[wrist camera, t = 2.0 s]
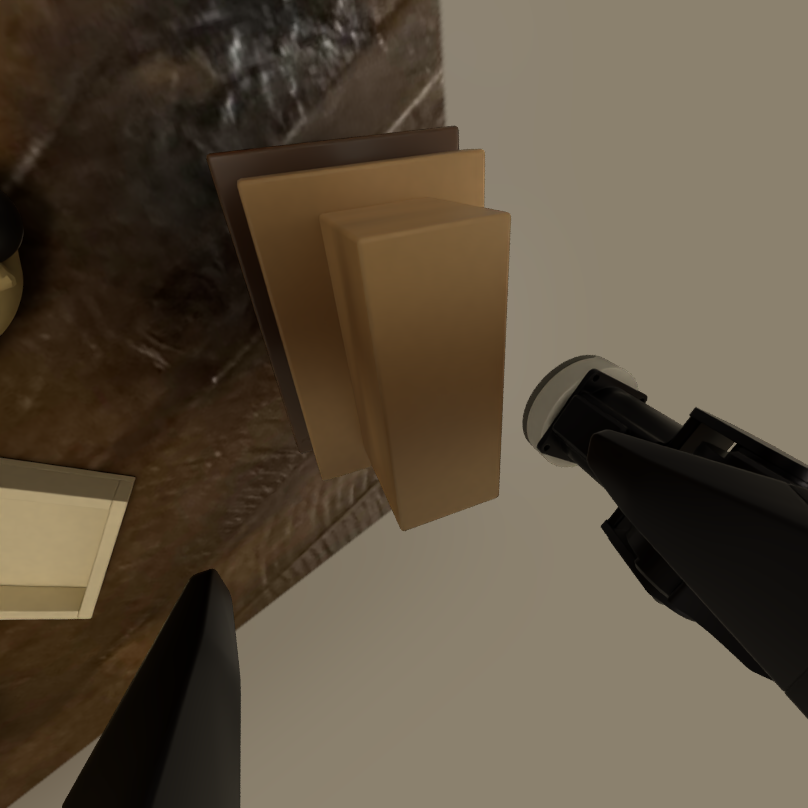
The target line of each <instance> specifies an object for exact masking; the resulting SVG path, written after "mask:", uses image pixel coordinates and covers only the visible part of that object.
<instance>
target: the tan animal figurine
mask: <svg viewBox="0 0 808 808" xmlns="http://www.w3.org/2000/svg"><path fill="white" fill-rule="evenodd" d="M22 239H23V222H22V218H21V216H20V213H19V211H18V209H17V208H16V206H15V204H14V203H13V202H12V200H11V199H10V198H9V197H8V196H7V195H6V194H5V193H4V192H3V191H2V190H0V336H1V335H2V333H3V332H4V331H5V330H6V329H7V327H8V326H9V325H10V323H11V321H12V320H13V318H14V316H15V314H16V312H17V309H18V307H19V304H20V300H21V296H22V291H23V273H22V268H21V263H20V258H19V253H18V248H19V247H20V245H21V242H22Z"/></svg>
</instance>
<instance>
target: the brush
mask: <svg viewBox="0 0 808 808" xmlns="http://www.w3.org/2000/svg"><path fill="white" fill-rule="evenodd" d="M484 177H485V152H484V150H482V149H466V150H456V151H448V152H441V153H433V154H425V155H418V156H410V157H402V158H395V159H387V160H379V161H371V162H364V163H356V164H348V165H341V166H333V167H325V168H318V169H310V170H302V171H294V172H287V173H279V174H271V175H264V176H256V177H248V178H241V179H239V180H237V188H238V191H239V195H240V198H241V201H242V205H243V208H244V212H245V215H246V219H247V222H248V226H249V229H250V233H251V236H252V239H253V243H254V246H255V250H256V253H257V257H258V260H259V264H260V267H261V271H262V274H263V277H264V281H265V284H266V288H267V291H268V295H269V298H270V302H271V305H272V309H273V312H274V316H275V319H276V322H277V326H278V329H279V333H280V336H281V340H282V343H283V347H284V350H285V354H286V357H287V360H288V364H289V367H290V371H291V374H292V378H293V381H294V385H295V388H296V392H297V395H298V398H299V402H300V405H301V409H302V412H303V416H304V419H305V423H306V426H307V430H308V433H309V436H310V440H311V443H312V447H313V450H314V454H315V457H316V461H317V464H318V468H319V471H320V474H321V478H322V479H323V480H324V481H327V480H330V479H333V478H336V477H339V476H342V475H346V474H349V473H352V472H355V471H358V470H361V469H365V468H368V467H371V466H372V467H373V469H374V471H375V473H376V475H377V478H378V480H379V482H380V484H381V487H382V489H383V491H384V493H385V495H386V498H387V500H388V502H389V504H390V507H391V509H392V511H393V513H394V515H395V518H396V520H397V522H398V524H399V527H400V529H401V530H402V531H406V530H409V529H412V528H414V527H417V526H420V525H423V524H426V523H428V522H431V521H434V520H437V519H439V518H442V517H445V516H448V515H450V514H453V513H456V512H459V511H461V510H464V509H467V508H470V507H472V506H475V505H478V504H480V503H483V502H486V501H489V500H492V499H494V498H497V497H498V496H499V479H500V457H501V456H500V455H501V433H502V411H503V388H504V365H505V342H506V318H507V296H508V272H509V251H510V226H511V216H510V214H509V213H508V212H504V211H499V210H493V209H489V208H484V187H485V178H484Z"/></svg>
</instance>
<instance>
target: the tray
mask: <svg viewBox="0 0 808 808" xmlns="http://www.w3.org/2000/svg"><path fill="white" fill-rule="evenodd" d="M134 481H135V477H131V476H124V475H117V474H110V473H103V472H97V471H90V470H83V469H76V468H69V467H62V466H55V465H48V464H41V463H34V462H27V461H20V460H13V459H6V458H0V620H3V619H76V618H77V617H78V619H90V618H91V617H92V614H93V611H94V608H95V605H96V601H97V598H98V595H99V592H100V589H101V586H102V582H103V579H104V576H105V573H106V570H107V567H108V563H109V560H110V557H111V554H112V551H113V548H114V545H115V541H116V538H117V535H118V532H119V529H120V526H121V522H122V519H123V516H124V513H125V510H126V507H127V503H128V500H129V497H130V494H131V491H132V487H133V484H134Z"/></svg>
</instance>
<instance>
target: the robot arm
mask: <svg viewBox="0 0 808 808" xmlns="http://www.w3.org/2000/svg"><path fill="white" fill-rule="evenodd" d="M646 401H647V396H646V395H645V394H643V393H642V392H640V391H638V390H636V389H634V388H632V387H630V386H628V385H626V384H624V383H622V382H621V381H619V380H617V379H615V378H613V377H611V376H609V375H607V374H605V373H603V372H601V371H600V370H598V369H595V368H594V369H591V370H589V371H588V372H587V374H586V375H585V377H584V378H583V379H582V381H581V382H580V384H579V385H578V387H577V388H576V389H575V391H574V392H573V394H572V395H571V397H570V398H569V399H568V401H567V402H566V404H565V405H564V407H563V408H562V409H561V411H560V412H559V414H558V415H557V417H556V418H555V419H554V421H553V422H552V424H551V425H550V427H549V428H548V429H547V431H546V432H545V434H544V435H543V437H542V438H541V439H540V441H539V442H538V444H537V449H538V450H539V451H540V452H541V453H542V454H546V455H549V456H552V457H555V458H559V459H562V460H565V461H569V462H572V463H575V464H578V465H579V466H580V467H581V468H582V469H583V470H584V471H585V472H587V473H588V474H589V475H590V476H591V477H592V478H593V479H594V480H596V481H597V482H598V483H599V484H600V485H601V486H603V487H604V488H605V489H606V491H607V492H608V493H609V495H610V496H611V497H612V499H613V500H614V502H615V503H616V504H617V506H618V508H617V509H616V510H615V512H614V513H613V514H612V515H611V517H610V518H609V519H608V520H606V521H605V522H604V523H603V524H602V525H601V528H602V529H603V531H604V532H605V534H606V535H607V536H608V539H609V540H610V542H611V543H612V544H613V546H614V547H615V549H616V550H617V551H618V553H619V554H620V555H621V557H622V558H623V559H624V561H625V562H626V564H627V565H628V566H629V568H630V569H631V571H632V572H633V573H634V575H635V576H636V577H637V579H638V580H639V581H640V583H641V584H642V585H643V587H644V588H645V590H646V591H647V592H648V593H649V594H650V595H651V596H652V597H653V598H654V599H655V600H656V601H657V602H658V603H660V604H663V605H666V606H667V607H668V608H669V609H671V610H673V611H674V612H676V613H677V614H679V615H680V616H682V617H684V618H686V619H689V620H691V621H695V622H697V623H698V624H699V625H700V626H702V627H703V628H704V629H705V630H707V631H708V632H709V633H710V634H711V635H713V636H714V637H715V638H716V639H717V640H718V641H719V642H720V643H722V644H723V645H724V646H725V647H726V648H727V649H728V650H729V651H730V652H731V653H732V654H733V655H734V656H736V658H738V659H739V660H740V661H741V662H742V663H743V664H744V665H745V666H746V667H747V668H748V669H750V670H751V671H753V672H755V673H757V674H759V675H761V676H764V677H766V678H768V679H770V680H773V681H775V683H776V684H777V685H778V686H779V687H780V688H781V689H782V690H783V691H785V694H786V695H787V696H788V698H789V699H790V700H791V701H792V702H793V703H794V704H795V705H796V706H797V707H798V709H799V710H800V711H801V712H802V713H803V714H804V715H805V716H806V717H807V719H808V465H806V464H804V463H803V462H801V461H799V460H797V459H796V458H794V457H792V456H790V455H789V454H786V453H785V452H783V451H782V450H780V449H778V448H776V447H775V446H773V445H771V444H769V443H767V442H765V441H763V440H761V439H759V438H757V437H755V436H754V435H752V434H750V433H748V432H746V431H744V430H742V429H740V428H738V427H736V426H735V425H732V424H731V423H728V422H726V421H724V420H722V419H720V418H718V417H716V416H713V415H711V414H709V413H707V412H705V411H703V410H701V409H699V408H697V407H696V408H694V410H693V411H692V412H691V414H690V418H689V419H688V420H687V421H686V423H685V424H684V425H683V426H682V425H681V424H679V423H677V422H675V421H674V420H672V419H671V418H669V417H667V416H666V415H664V414H662V413H661V412H659V411H657V410H655V409H654V408H652V407H650V406H649V405H647V404H645V403H646ZM734 442H735V443H737V444H736V445H735V446H734V447H733V449H732V450H731V451H730V452H727V450H728V449H729V448H730V447H731V446H732V445H733V443H734ZM240 689H241V687H240V671H239V661H238V651H237V642H236V633H235V624H234V615H233V606H232V599H231V595H230V592H229V590H228V589H227V587H226V585H225V584H224V582H223V580H222V579H221V577H220V575H219V574H218V572H217V571H216V570H215V569H209V570H206V571H203V572H200V573H197V574H195V575H193V576H192V577H191V578H190V579H189V581H188V583H187V584H186V586H185V588H184V590H183V592H182V593H181V595H180V597H179V599H178V600H177V602H176V604H175V606H174V608H173V609H172V611H171V613H170V615H169V616H168V618H167V620H166V622H165V624H164V625H163V627H162V629H161V631H160V632H159V634H158V636H157V638H156V639H155V641H154V643H153V645H152V647H151V648H150V650H149V652H148V654H147V655H146V657H145V659H144V661H143V663H142V664H141V666H140V668H139V670H138V671H137V673H136V675H135V677H134V679H133V680H132V682H131V684H130V686H129V687H128V689H127V691H126V693H125V695H124V696H123V698H122V700H121V702H120V703H119V705H118V707H117V709H116V711H115V712H114V714H113V716H112V718H111V719H110V721H109V723H108V725H107V727H106V728H105V730H104V732H103V734H102V735H101V737H100V739H99V741H98V742H97V744H96V746H95V748H94V750H93V751H92V753H91V755H90V757H89V758H88V760H87V762H86V764H85V766H84V767H83V769H82V771H81V773H80V774H79V776H78V778H77V780H76V782H75V783H74V785H73V787H72V789H71V790H70V792H69V794H68V796H67V798H66V799H65V801H64V803H63V805H62V808H240V736H241V735H240V734H241V733H240V732H241V730H240V728H241V725H240V724H241V690H240Z"/></svg>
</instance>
